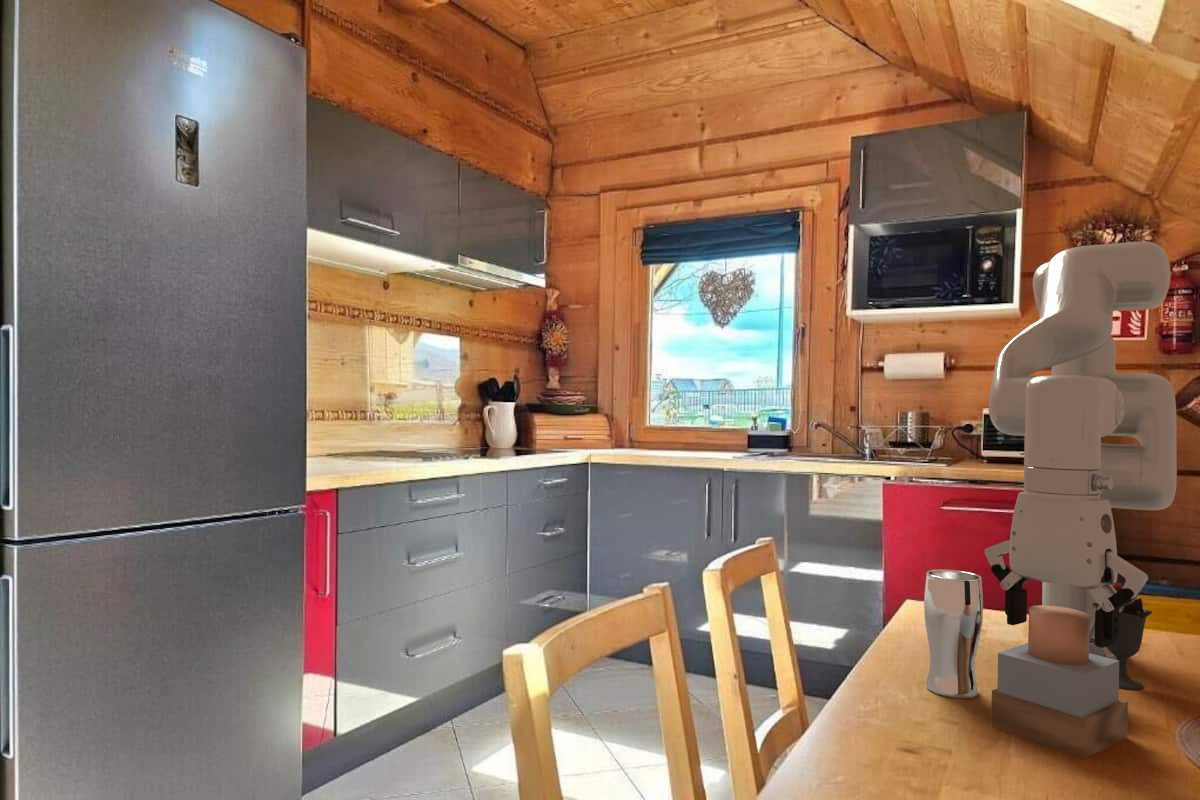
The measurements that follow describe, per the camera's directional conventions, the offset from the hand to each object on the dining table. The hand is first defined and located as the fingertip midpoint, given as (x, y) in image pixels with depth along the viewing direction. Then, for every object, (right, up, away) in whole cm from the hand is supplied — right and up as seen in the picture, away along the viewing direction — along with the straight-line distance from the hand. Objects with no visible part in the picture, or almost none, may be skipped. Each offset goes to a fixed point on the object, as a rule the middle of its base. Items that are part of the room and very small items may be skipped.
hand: (1058, 633), depth 90 cm
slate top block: (0, -7, 0) cm, 7 cm away
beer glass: (-7, -11, +13) cm, 18 cm away
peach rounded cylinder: (0, -3, 0) cm, 3 cm away
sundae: (+18, -12, +16) cm, 27 cm away
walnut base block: (0, -12, 0) cm, 12 cm away
